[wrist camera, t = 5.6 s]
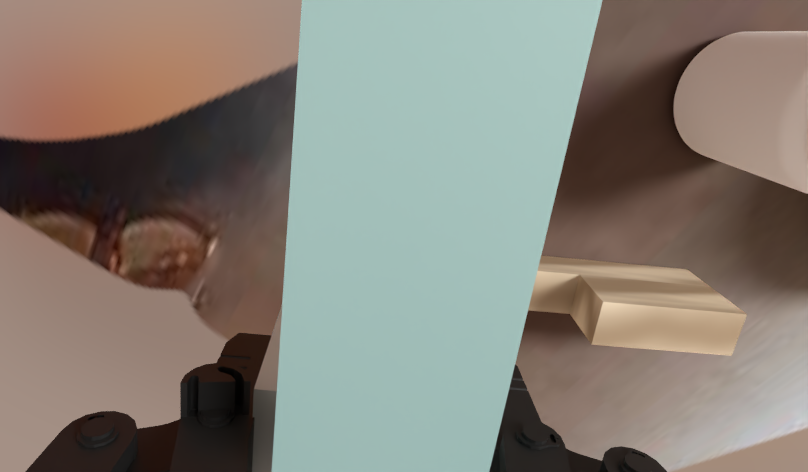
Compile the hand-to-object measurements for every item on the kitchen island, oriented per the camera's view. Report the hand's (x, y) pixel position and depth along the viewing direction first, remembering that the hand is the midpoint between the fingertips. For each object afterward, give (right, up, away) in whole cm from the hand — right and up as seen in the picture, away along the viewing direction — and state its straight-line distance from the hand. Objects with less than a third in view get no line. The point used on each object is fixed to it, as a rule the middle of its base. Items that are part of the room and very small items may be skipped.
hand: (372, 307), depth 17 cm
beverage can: (+23, +12, +19) cm, 32 cm away
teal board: (0, 0, 0) cm, 0 cm away
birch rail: (+12, -1, +23) cm, 26 cm away
